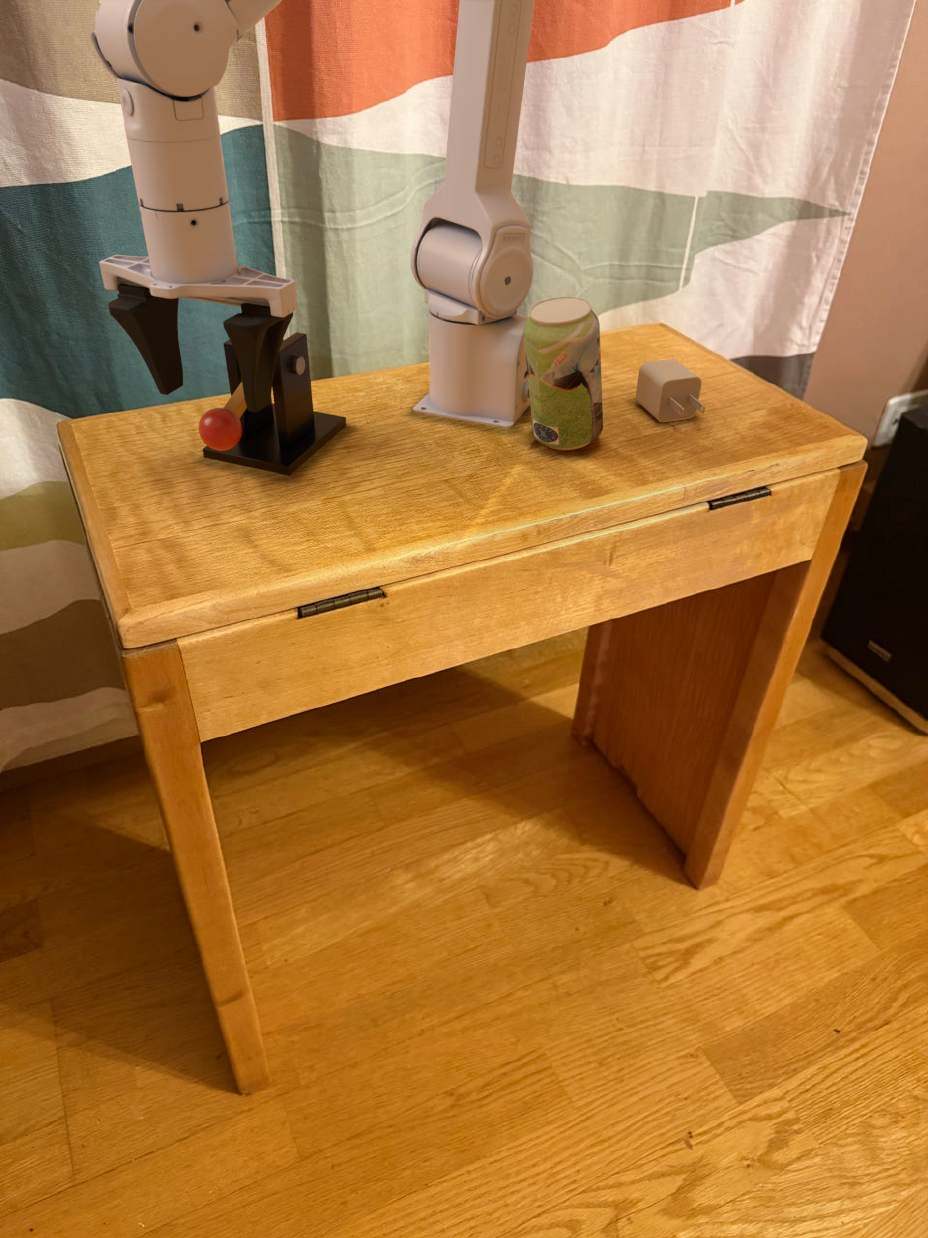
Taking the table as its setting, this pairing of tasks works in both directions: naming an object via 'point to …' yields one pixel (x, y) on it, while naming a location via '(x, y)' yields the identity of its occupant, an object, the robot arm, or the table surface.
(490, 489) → the table surface
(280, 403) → the switch bracket
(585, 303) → the beverage can
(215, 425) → the switch lever
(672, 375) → the usb wall charger
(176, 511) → the table surface
